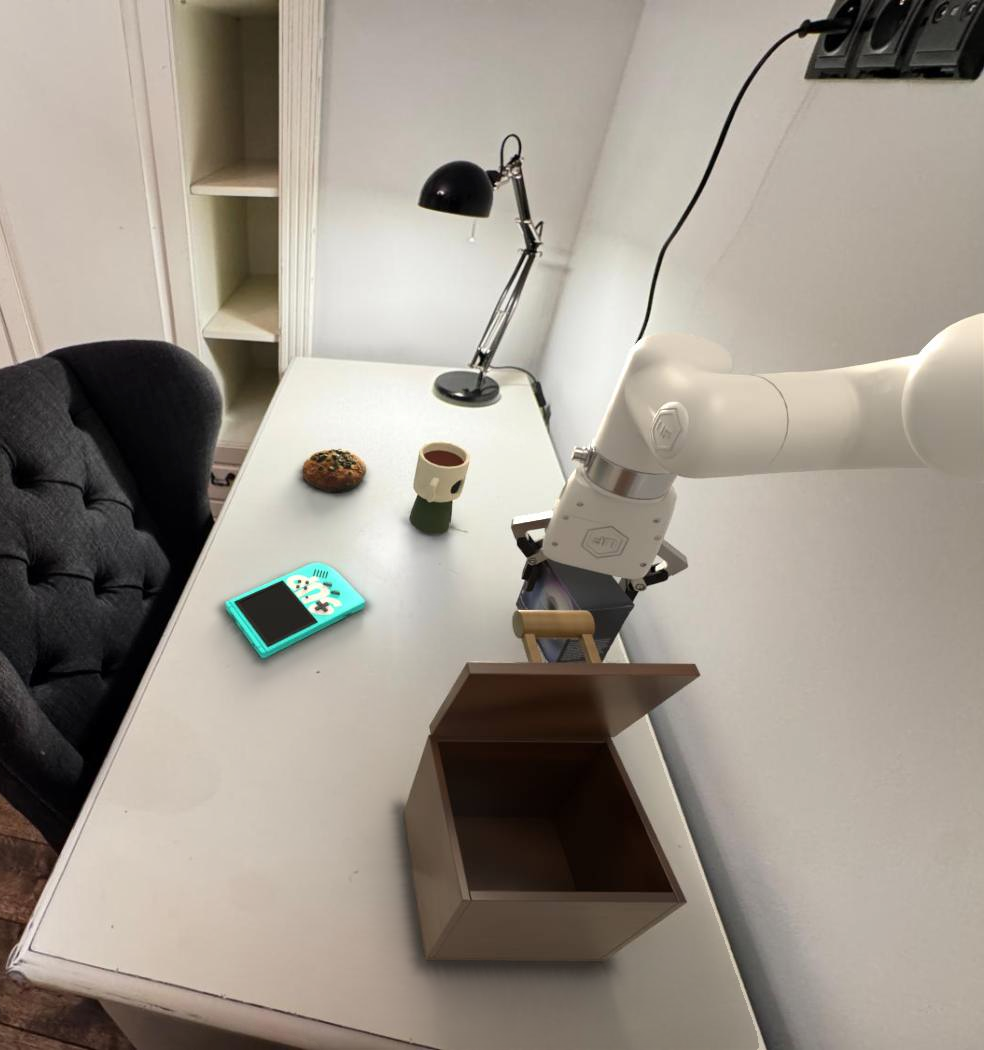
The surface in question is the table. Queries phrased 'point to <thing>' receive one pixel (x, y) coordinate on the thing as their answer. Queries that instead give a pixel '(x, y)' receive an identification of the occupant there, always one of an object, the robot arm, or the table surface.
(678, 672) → the lid
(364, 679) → the table surface
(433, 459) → the character mug
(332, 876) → the table surface
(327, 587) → the handheld game console
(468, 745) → the brown wooden box
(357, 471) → the bread roll
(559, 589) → the small box
